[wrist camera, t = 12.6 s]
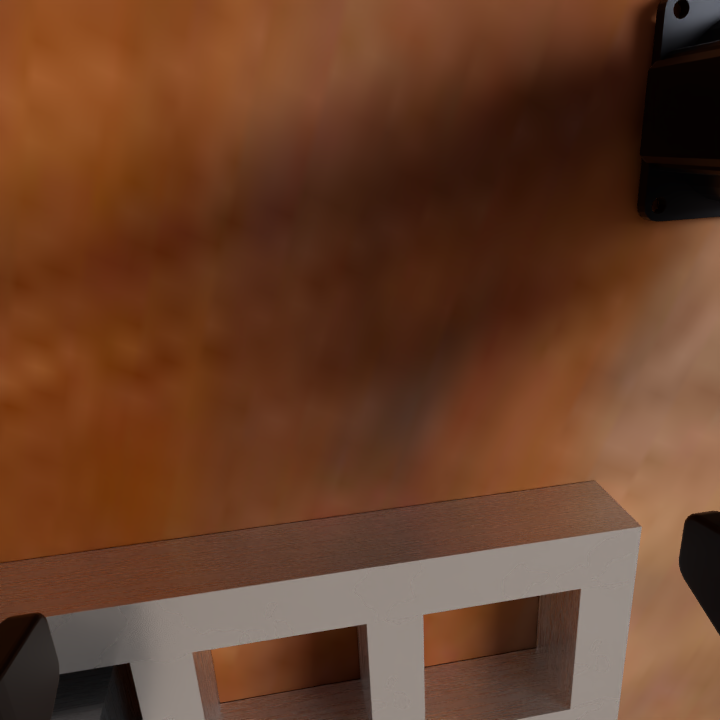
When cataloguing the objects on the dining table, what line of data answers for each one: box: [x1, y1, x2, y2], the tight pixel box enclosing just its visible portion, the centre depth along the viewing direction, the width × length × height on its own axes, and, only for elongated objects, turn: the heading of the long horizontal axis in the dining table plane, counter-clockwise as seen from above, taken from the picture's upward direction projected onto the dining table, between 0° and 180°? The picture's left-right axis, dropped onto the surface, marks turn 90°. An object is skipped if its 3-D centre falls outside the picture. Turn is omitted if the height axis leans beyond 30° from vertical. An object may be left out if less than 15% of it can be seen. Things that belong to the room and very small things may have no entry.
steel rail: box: [0, 481, 641, 720], centre depth 22 cm, size 25×10×3 cm, turn 93°
